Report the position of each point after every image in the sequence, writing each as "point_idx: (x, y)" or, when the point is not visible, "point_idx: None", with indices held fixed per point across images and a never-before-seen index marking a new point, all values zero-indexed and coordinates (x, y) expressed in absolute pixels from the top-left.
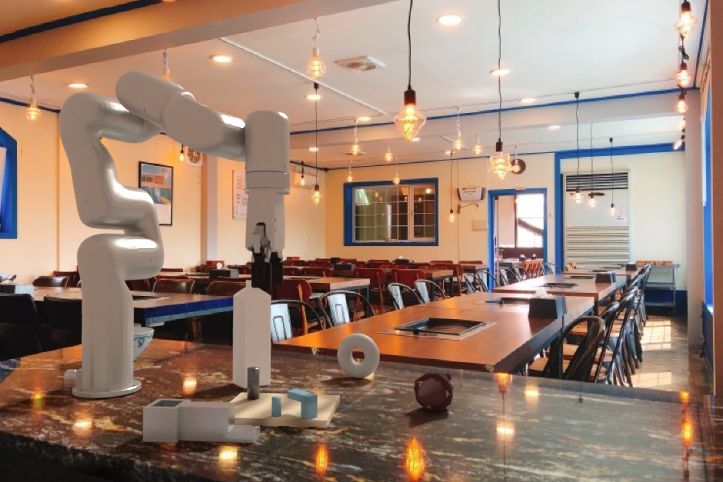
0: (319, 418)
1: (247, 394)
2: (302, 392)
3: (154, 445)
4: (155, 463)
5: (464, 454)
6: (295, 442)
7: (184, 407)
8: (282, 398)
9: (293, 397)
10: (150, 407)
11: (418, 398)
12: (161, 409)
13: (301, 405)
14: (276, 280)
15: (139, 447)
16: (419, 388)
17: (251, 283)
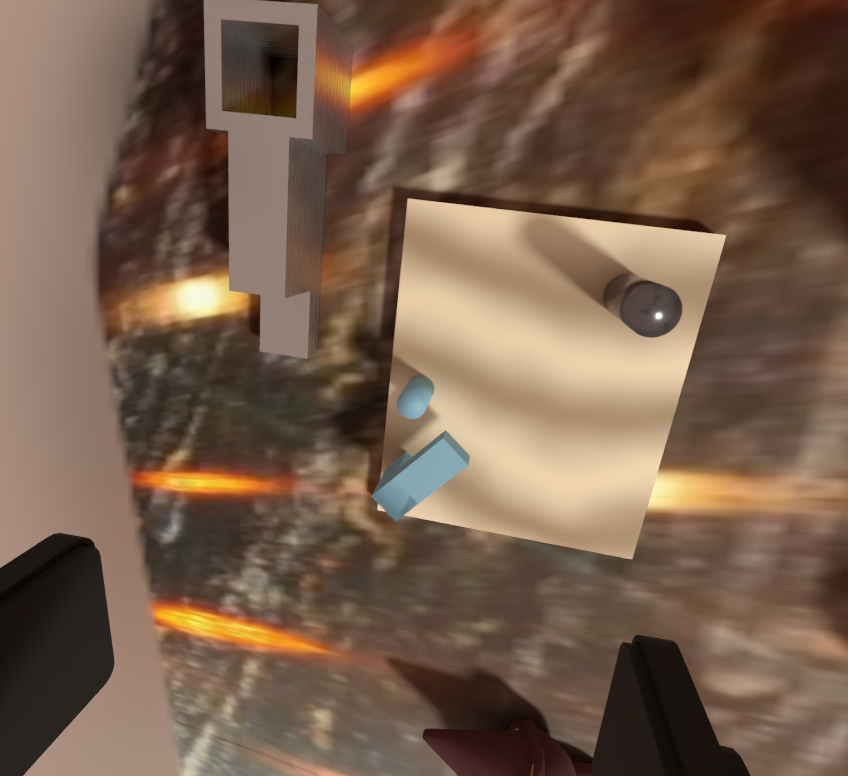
0: None
1: (619, 278)
2: (420, 482)
3: None
4: (129, 141)
5: (247, 700)
6: (283, 433)
7: (228, 147)
8: (612, 393)
9: (421, 451)
10: (208, 24)
11: (424, 731)
12: (206, 71)
13: (398, 465)
14: (609, 769)
15: None
16: (504, 758)
17: (31, 550)
